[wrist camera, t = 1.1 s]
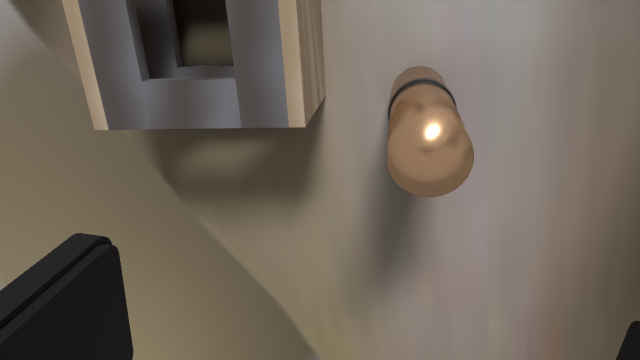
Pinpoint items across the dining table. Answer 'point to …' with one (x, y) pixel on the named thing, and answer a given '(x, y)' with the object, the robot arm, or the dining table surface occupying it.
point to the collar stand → (198, 81)
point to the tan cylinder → (426, 135)
